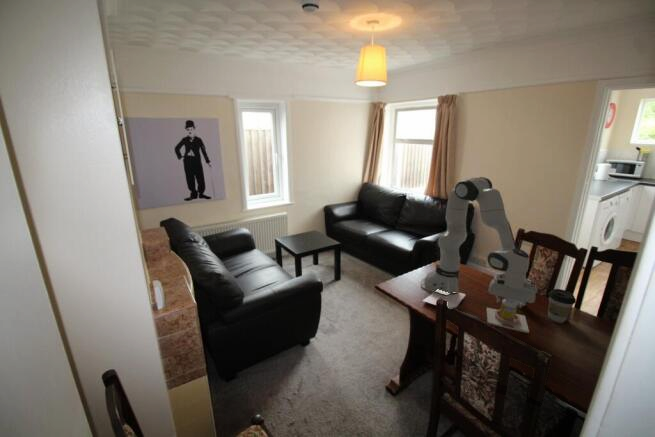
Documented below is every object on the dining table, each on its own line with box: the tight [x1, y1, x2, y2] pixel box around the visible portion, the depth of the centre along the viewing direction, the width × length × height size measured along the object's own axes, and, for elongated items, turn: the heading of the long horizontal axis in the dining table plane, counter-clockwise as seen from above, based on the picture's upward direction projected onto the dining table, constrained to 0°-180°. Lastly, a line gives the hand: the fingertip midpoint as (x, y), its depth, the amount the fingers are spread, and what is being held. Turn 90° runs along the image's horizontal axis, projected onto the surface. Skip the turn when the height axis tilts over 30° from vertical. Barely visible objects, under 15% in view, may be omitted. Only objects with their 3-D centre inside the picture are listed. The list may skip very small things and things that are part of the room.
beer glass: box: [515, 277, 532, 307], centre depth 168 cm, size 7×7×15 cm
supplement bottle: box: [499, 297, 518, 321], centre depth 154 cm, size 7×7×13 cm
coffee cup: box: [547, 288, 577, 324], centre depth 155 cm, size 11×11×15 cm
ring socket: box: [486, 307, 530, 334], centre depth 155 cm, size 18×14×3 cm
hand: (508, 304), depth 153 cm, fingers open, 8 cm apart
